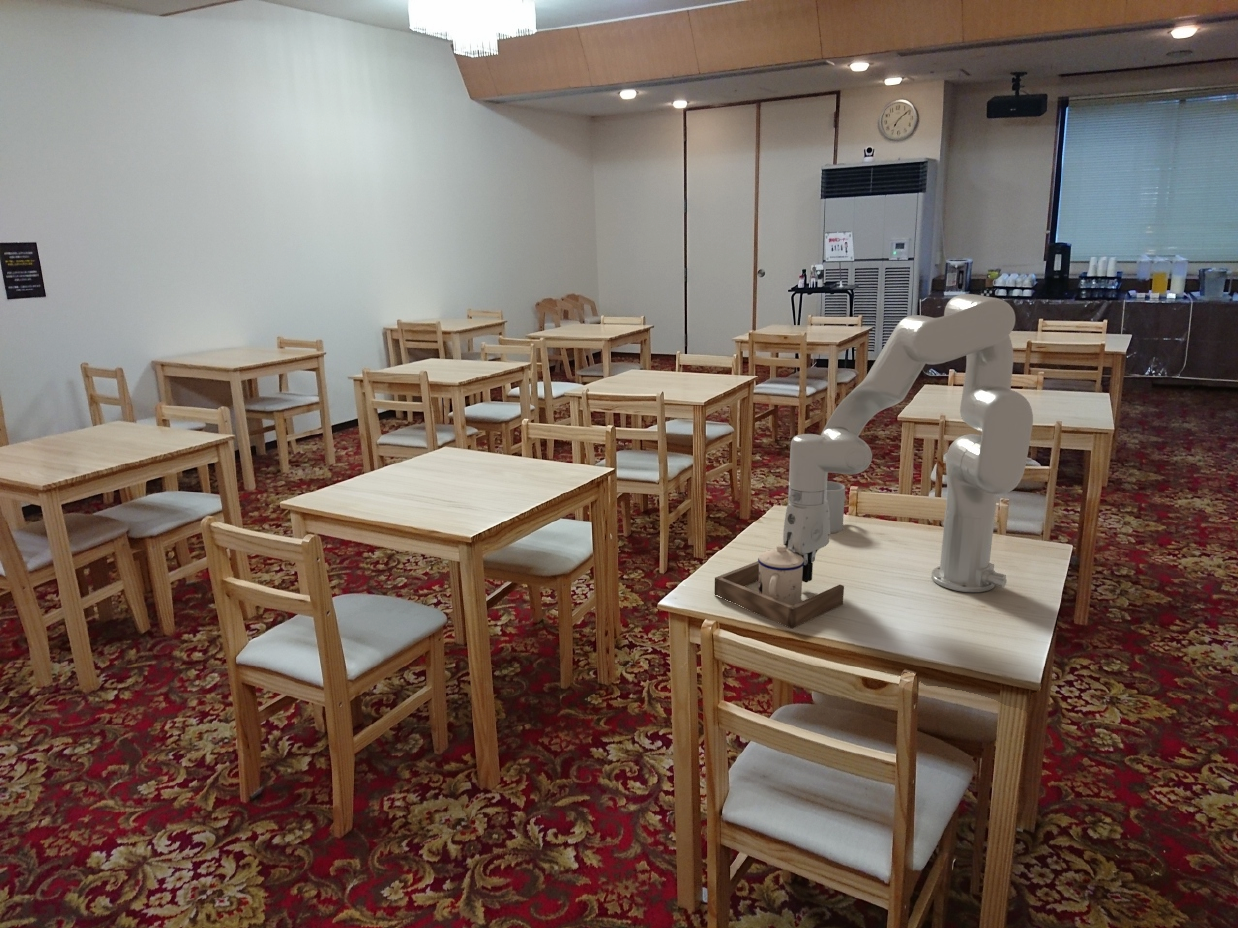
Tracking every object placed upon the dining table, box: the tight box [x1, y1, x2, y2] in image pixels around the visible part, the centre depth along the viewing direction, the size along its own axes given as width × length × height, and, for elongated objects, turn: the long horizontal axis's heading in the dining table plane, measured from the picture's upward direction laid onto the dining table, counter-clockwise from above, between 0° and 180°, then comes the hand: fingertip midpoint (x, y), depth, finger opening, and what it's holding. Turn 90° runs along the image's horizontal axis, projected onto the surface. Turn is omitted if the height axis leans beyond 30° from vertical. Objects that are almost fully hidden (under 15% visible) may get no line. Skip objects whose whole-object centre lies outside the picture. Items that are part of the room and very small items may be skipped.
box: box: [713, 560, 845, 629], centre depth 172 cm, size 20×16×4 cm
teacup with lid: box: [757, 543, 804, 606], centre depth 170 cm, size 12×9×12 cm
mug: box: [826, 480, 846, 534], centre depth 213 cm, size 12×8×11 cm
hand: (803, 579), depth 177 cm, fingers closed
